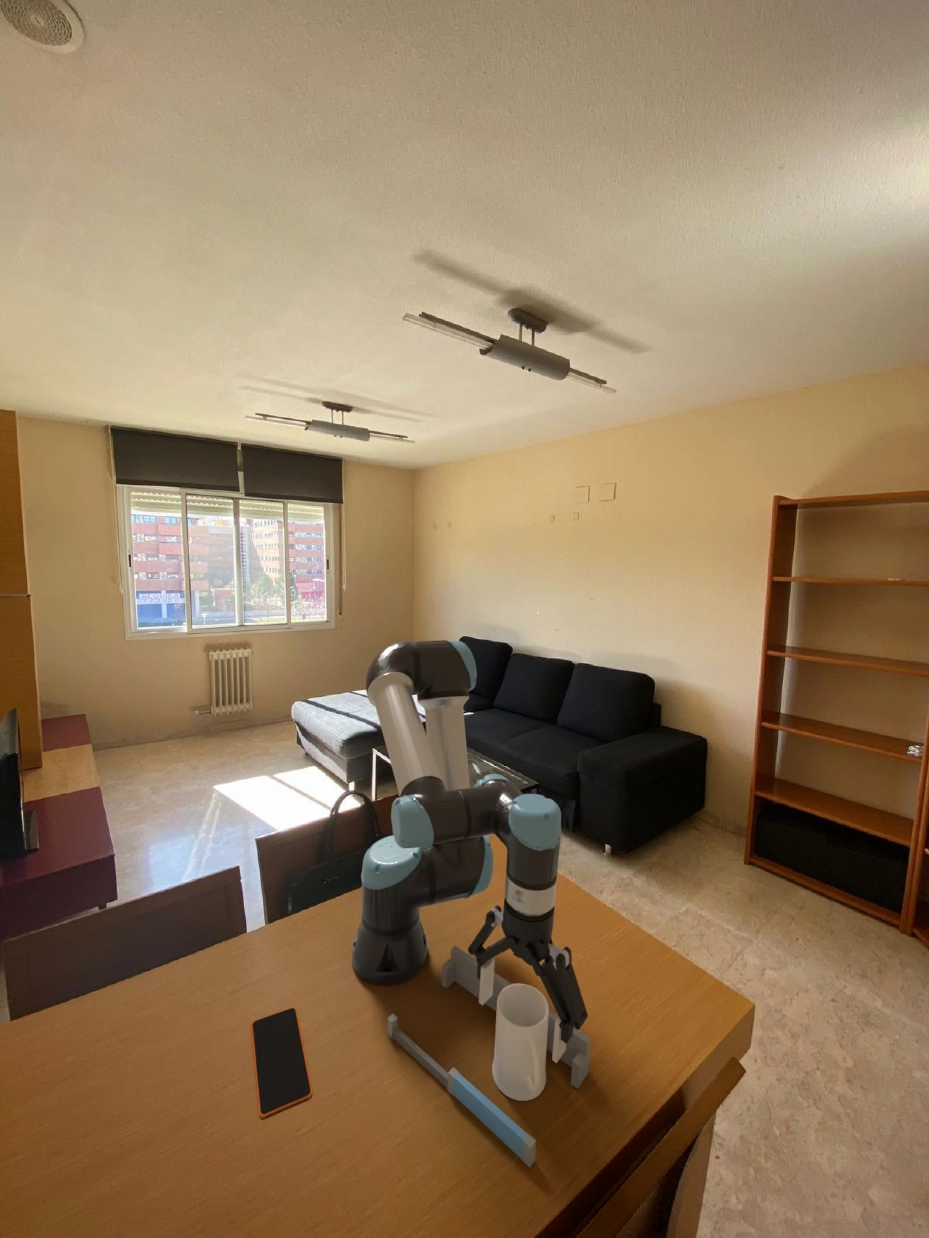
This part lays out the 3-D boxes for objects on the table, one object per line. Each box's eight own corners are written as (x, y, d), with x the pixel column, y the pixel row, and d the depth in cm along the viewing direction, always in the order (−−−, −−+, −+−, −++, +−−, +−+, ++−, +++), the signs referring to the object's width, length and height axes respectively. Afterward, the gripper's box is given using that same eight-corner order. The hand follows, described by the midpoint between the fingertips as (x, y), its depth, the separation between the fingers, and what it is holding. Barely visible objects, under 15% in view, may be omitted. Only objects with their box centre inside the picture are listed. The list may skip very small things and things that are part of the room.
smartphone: (259, 1122, 72) (259, 1117, 72) (250, 1025, 87) (250, 1021, 86) (313, 1098, 75) (313, 1093, 75) (296, 1009, 90) (296, 1004, 90)
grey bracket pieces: (387, 1034, 86) (388, 1001, 85) (454, 973, 99) (455, 945, 98) (529, 1167, 67) (532, 1128, 67) (588, 1071, 80) (590, 1037, 80)
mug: (559, 1122, 73) (564, 1048, 72) (501, 1128, 72) (504, 1052, 71) (538, 1045, 85) (542, 980, 83) (488, 1049, 84) (491, 983, 82)
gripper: (450, 874, 80) (444, 992, 83) (595, 961, 65) (582, 1103, 67) (479, 854, 86) (473, 965, 89) (619, 929, 70) (606, 1061, 73)
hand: (520, 1025), depth 78 cm, fingers open, 13 cm apart
